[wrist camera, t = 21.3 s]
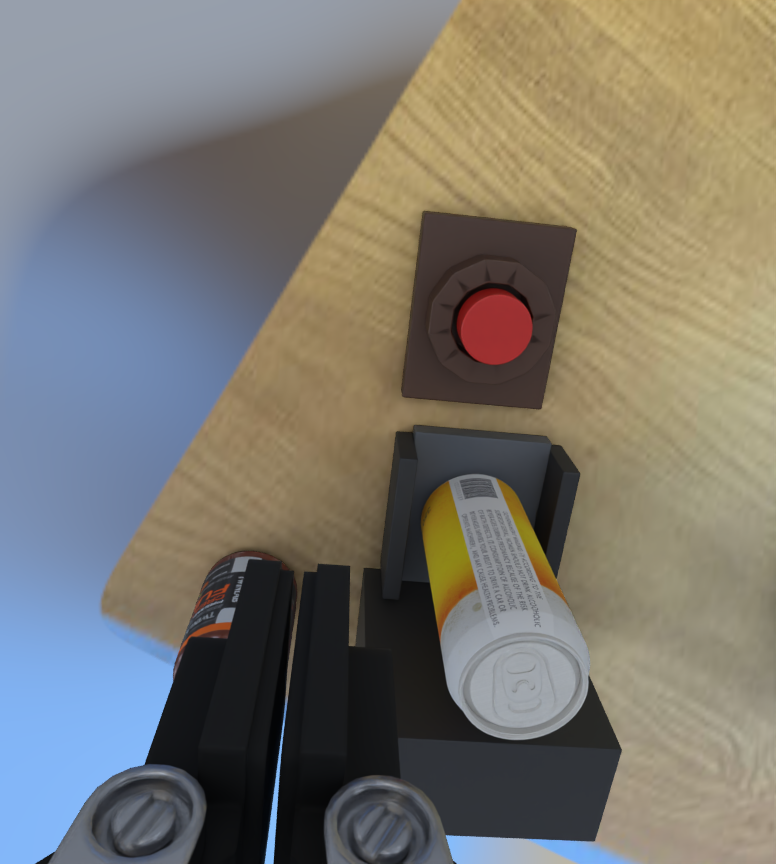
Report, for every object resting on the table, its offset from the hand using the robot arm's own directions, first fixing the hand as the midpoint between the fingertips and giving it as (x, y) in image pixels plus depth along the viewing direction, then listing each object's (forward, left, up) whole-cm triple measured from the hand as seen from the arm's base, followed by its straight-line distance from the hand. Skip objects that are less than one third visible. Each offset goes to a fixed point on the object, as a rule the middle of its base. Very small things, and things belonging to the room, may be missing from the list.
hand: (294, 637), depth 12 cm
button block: (+8, 0, -29) cm, 30 cm away
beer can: (+9, -12, -28) cm, 32 cm away
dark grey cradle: (+9, -15, -29) cm, 34 cm away
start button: (+8, 0, -26) cm, 28 cm away
